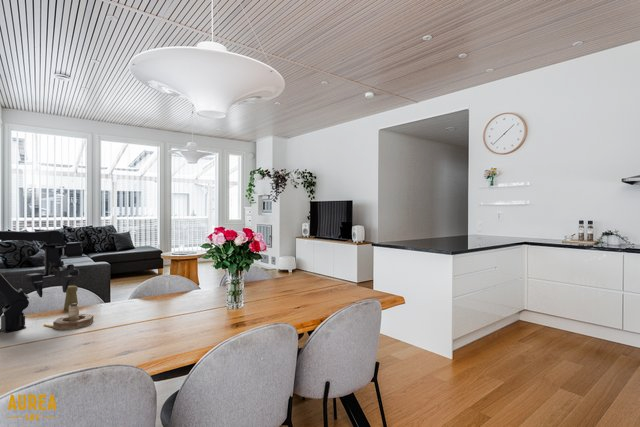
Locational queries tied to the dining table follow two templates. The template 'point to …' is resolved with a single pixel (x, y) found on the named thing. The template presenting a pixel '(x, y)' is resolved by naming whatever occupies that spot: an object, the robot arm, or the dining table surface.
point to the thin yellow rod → (48, 325)
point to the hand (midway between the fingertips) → (52, 294)
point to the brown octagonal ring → (72, 322)
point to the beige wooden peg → (73, 312)
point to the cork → (70, 296)
